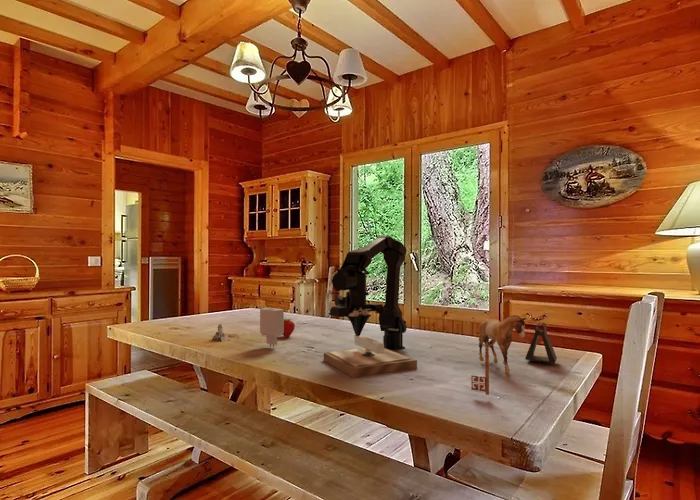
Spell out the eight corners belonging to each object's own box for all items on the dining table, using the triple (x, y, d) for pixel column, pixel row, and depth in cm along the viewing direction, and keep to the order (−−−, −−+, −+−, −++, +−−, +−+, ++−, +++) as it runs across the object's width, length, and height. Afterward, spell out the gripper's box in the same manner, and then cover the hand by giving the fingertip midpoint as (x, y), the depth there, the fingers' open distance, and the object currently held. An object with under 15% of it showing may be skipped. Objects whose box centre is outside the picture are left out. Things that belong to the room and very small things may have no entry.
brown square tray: (380, 353, 147) (380, 344, 147) (417, 368, 127) (416, 358, 127) (323, 360, 137) (323, 350, 137) (353, 377, 117) (353, 366, 117)
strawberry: (288, 340, 169) (288, 316, 170) (275, 338, 173) (275, 315, 173) (298, 338, 174) (298, 314, 175) (284, 336, 178) (284, 313, 178)
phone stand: (557, 359, 138) (556, 323, 138) (555, 363, 132) (554, 325, 133) (527, 355, 142) (527, 321, 143) (525, 359, 137) (524, 323, 137)
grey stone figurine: (241, 342, 168) (241, 323, 168) (222, 345, 162) (222, 326, 162) (229, 339, 174) (229, 321, 174) (210, 342, 168) (210, 323, 168)
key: (471, 392, 104) (470, 332, 104) (471, 391, 105) (471, 332, 105) (495, 396, 101) (494, 334, 102) (495, 394, 102) (495, 334, 102)
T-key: (354, 348, 139) (354, 335, 139) (359, 348, 140) (359, 334, 140) (378, 359, 124) (378, 344, 124) (383, 358, 125) (383, 343, 125)
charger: (275, 352, 149) (275, 310, 149) (258, 348, 155) (258, 308, 155) (285, 349, 153) (285, 309, 153) (268, 346, 158) (268, 307, 159)
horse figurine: (528, 378, 116) (528, 316, 116) (506, 379, 115) (505, 317, 116) (489, 356, 142) (489, 305, 142) (471, 356, 141) (470, 306, 142)
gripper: (364, 286, 149) (364, 329, 149) (320, 288, 138) (320, 335, 138) (384, 288, 140) (385, 334, 140) (339, 290, 129) (339, 340, 129)
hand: (357, 335), depth 137 cm, fingers closed
